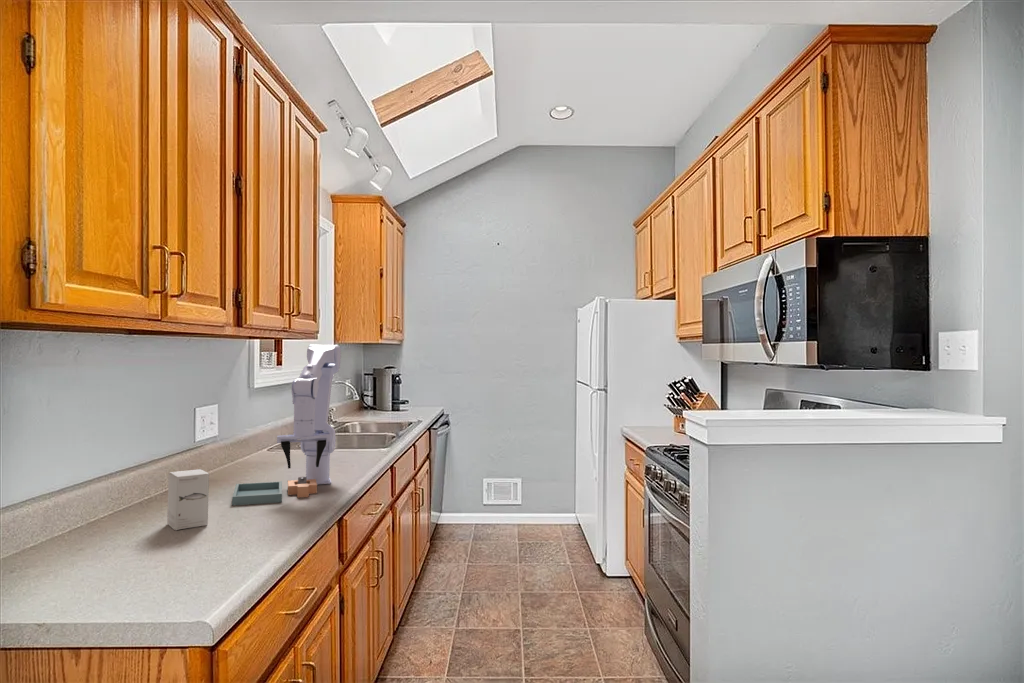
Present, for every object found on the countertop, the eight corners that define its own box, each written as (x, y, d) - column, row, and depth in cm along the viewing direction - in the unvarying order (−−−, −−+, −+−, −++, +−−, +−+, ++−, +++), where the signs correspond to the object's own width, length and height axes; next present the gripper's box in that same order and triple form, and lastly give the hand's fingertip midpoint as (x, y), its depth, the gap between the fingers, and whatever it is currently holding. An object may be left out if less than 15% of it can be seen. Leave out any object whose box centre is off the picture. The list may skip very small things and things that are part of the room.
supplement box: (174, 531, 147) (175, 476, 148) (166, 524, 153) (167, 471, 153) (208, 525, 152) (209, 472, 152) (199, 519, 158) (200, 468, 158)
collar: (287, 488, 192) (287, 478, 192) (315, 487, 194) (315, 477, 194) (288, 498, 180) (288, 487, 180) (317, 496, 183) (317, 485, 183)
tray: (236, 491, 187) (236, 483, 187) (281, 489, 191) (281, 481, 191) (232, 505, 171) (232, 496, 171) (281, 502, 176) (282, 493, 176)
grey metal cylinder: (297, 490, 190) (297, 476, 190) (306, 489, 191) (306, 476, 191) (297, 492, 188) (298, 478, 188) (306, 491, 188) (306, 478, 188)
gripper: (277, 422, 177) (276, 471, 177) (331, 420, 182) (330, 468, 182) (277, 419, 184) (276, 466, 184) (329, 418, 189) (328, 463, 189)
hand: (303, 467), depth 184 cm, fingers open, 7 cm apart
